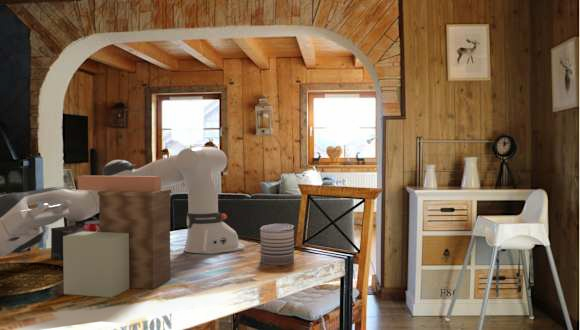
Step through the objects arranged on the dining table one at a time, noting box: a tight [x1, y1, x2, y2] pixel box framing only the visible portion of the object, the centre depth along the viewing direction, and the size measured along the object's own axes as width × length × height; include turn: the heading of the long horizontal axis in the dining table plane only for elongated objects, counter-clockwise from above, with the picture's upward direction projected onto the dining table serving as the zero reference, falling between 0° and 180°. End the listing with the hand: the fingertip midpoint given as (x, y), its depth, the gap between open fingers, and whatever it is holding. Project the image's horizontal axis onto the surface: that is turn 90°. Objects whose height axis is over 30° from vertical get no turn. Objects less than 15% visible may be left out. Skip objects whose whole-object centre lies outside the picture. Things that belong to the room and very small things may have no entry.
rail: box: [77, 175, 161, 191], centre depth 135 cm, size 24×4×4 cm, turn 77°
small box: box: [50, 224, 84, 261], centre depth 170 cm, size 11×6×10 cm, turn 148°
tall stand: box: [97, 188, 172, 290], centre depth 135 cm, size 17×11×26 cm, turn 78°
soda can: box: [83, 220, 100, 232], centre depth 165 cm, size 7×7×13 cm
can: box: [259, 223, 295, 266], centre depth 162 cm, size 11×11×12 cm
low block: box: [62, 231, 130, 298], centre depth 126 cm, size 14×8×15 cm, turn 78°
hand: (58, 204), depth 140 cm, fingers open, 8 cm apart
